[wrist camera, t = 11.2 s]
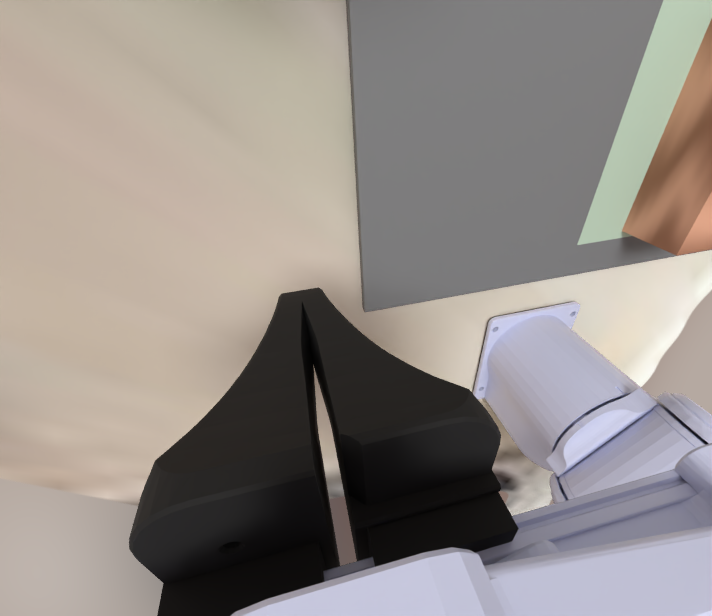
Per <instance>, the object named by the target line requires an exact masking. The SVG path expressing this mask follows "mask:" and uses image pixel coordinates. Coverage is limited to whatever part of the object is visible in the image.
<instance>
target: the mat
mask: <svg viewBox="0 0 712 616" xmlns="http://www.w3.org/2000/svg"><path fill="white" fill-rule="evenodd" d="M346 4H347V22H348V41H349V59H350V78H351V96H352V115H353V134H354V152H355V171H356V189H357V208H358V227H359V245H360V264H361V282H362V301H363V309H364V311H365V312H369V311H375V310H381V309H386V308H392V307H397V306H403V305H408V304H414V303H419V302H425V301H430V300H436V299H441V298H447V297H452V296H458V295H464V294H469V293H475V292H480V291H486V290H491V289H497V288H502V287H508V286H513V285H519V284H524V283H530V282H535V281H541V280H546V279H552V278H558V277H563V276H569V275H574V274H580V273H585V272H591V271H596V270H602V269H607V268H613V267H618V266H624V265H629V264H635V263H640V262H646V261H652V260H657V259H663V258H668V257H674V256H676V255H674V254H672V253H669V252H667V251H665V250H663V249H661V248H658V247H656V246H654V245H652V244H650V243H647V242H645V241H643V240H641V239H638V238H636V237H634V236H632V235H630V234H627V233H625V232H623V231H622V229H623V227H624V224H625V222H626V220H627V217H628V215H629V212H630V210H631V208H632V205H633V203H634V201H635V198H636V196H637V194H638V191H639V189H640V186H641V184H642V182H643V179H644V177H645V175H646V172H647V170H648V168H649V165H650V163H651V160H652V158H653V156H654V153H655V151H656V149H657V146H658V144H659V142H660V139H661V137H662V134H663V132H664V130H665V127H666V125H667V123H668V120H669V118H670V116H671V113H672V111H673V108H674V106H675V104H676V101H677V99H678V97H679V94H680V92H681V90H682V87H683V85H684V82H685V80H686V78H687V75H688V73H689V71H690V68H691V66H692V64H693V61H694V59H695V56H696V54H697V52H698V49H699V47H700V45H701V42H702V40H703V38H704V35H705V33H706V30H707V28H708V26H709V23H710V21H711V19H712V0H346ZM710 250H712V249H710ZM705 251H707V250H705ZM699 252H701V251H699ZM694 253H696V252H694ZM688 254H690V253H688ZM683 255H685V254H683ZM677 256H679V255H677Z"/></svg>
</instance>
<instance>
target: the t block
mask: <svg viewBox="0 0 712 616" xmlns="http://www.w3.org/2000/svg"><path fill="white" fill-rule="evenodd" d="M622 231H623V232H625V233H627V234H630V235H632V236H634V237H636V238H638V239H641V240H643V241H645V242H647V243H650V244H652V245H654V246H656V247H658V248H661V249H663V250H665V251H667V252H669V253H672V254H674V255H676V256H677V255H683V254H688V253H694V252H699V251H705V250H710V249H712V19H711V21H710V23H709V26H708V28H707V30H706V33H705V35H704V38H703V40H702V42H701V45H700V47H699V49H698V52H697V54H696V56H695V59H694V61H693V64H692V66H691V68H690V71H689V73H688V75H687V78H686V80H685V82H684V85H683V87H682V90H681V92H680V94H679V97H678V99H677V101H676V104H675V106H674V108H673V111H672V113H671V116H670V118H669V120H668V123H667V125H666V127H665V130H664V132H663V134H662V137H661V139H660V142H659V144H658V146H657V149H656V151H655V153H654V156H653V158H652V160H651V163H650V165H649V168H648V170H647V172H646V175H645V177H644V179H643V182H642V184H641V186H640V189H639V191H638V194H637V196H636V198H635V201H634V203H633V205H632V208H631V210H630V212H629V215H628V217H627V220H626V222H625V224H624V227H623V229H622Z"/></svg>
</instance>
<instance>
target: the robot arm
mask: <svg viewBox="0 0 712 616" xmlns="http://www.w3.org/2000/svg"><path fill="white" fill-rule="evenodd" d="M579 309H580V304H578V303H577V302H570V303H565V304H560V305H555V306H549V307H544V308H539V309H534V310H529V311H524V312H518V313H513V314H508V315H503V316H498V317H494V318H492V319H491V320H490V321H489V323H488V327H487V332H486V336H485V341H484V345H483V350H482V355H481V359H480V364H479V368H478V373H477V378H476V382H475V387H474V391H473V394H472V392H471V391H470V390H469V389H467V388H464V387H461V386H459V385H456V384H453V383H450V382H448V381H445V380H442V379H439V378H437V377H434V376H432V375H430V374H428V373H425V372H423V371H421V370H419V369H417V368H415V367H413V366H411V365H409V364H407V363H405V362H403V361H402V360H400V359H398V358H396V357H394V356H393V355H391V354H389V353H388V352H386V351H385V350H383V349H382V348H380V347H379V346H378V345H376V344H375V343H373V342H372V341H371V340H369V339H368V338H367V337H366V336H364V335H363V334H362V333H361V332H360V331H359V330H357V329H356V328H355V327H354V326H353V325H352V324H351V323H350V322H349V321H348V320H347V319H346V318H345V317H344V316H343V315H342V314H341V313H340V312H339V311H338V310H337V309H336V308H335V307H334V305H333V304H332V303H331V302H330V301H329V299H328V298H327V297H326V295H325V294H324V292H323V290H321V289H320V288H313V289H307V290H301V291H295V292H289V293H283V294H281V295H280V296H279V299H278V303H277V306H276V309H275V312H274V315H273V317H272V320H271V322H270V324H269V326H268V329H267V331H266V333H265V335H264V337H263V339H262V341H261V342H260V344H259V346H258V348H257V350H256V352H255V353H254V355H253V357H252V358H251V360H250V361H249V363H248V364H247V366H246V367H245V369H244V370H243V372H242V373H241V375H240V376H239V377H238V379H237V380H236V381H235V382H234V384H233V385H232V386H231V388H230V389H229V390H228V391H227V393H226V394H225V395H224V396H223V397H222V398H221V400H220V401H219V402H218V403H217V404H216V405H215V406H214V407H213V408H212V409H211V410H210V411H209V412H208V414H207V415H206V416H205V417H204V418H203V419H202V420H201V421H200V422H199V423H198V424H197V425H196V426H194V427H193V428H192V429H191V430H190V431H189V432H188V433H187V434H186V435H185V436H183V437H182V438H181V439H180V440H179V441H178V442H177V443H175V444H174V445H173V446H172V447H171V448H170V449H168V450H167V451H166V452H165V453H164V454H163V455H161V456H160V457H159V458H158V459H157V460H155V462H154V465H153V467H152V470H151V473H150V475H149V477H148V479H147V482H146V484H145V487H144V490H143V492H142V495H141V499H140V502H139V506H138V509H137V513H136V517H135V520H134V524H133V527H132V531H131V534H130V538H129V548H130V550H131V552H132V553H133V555H134V556H135V558H136V559H137V560H138V561H139V562H141V564H143V565H144V566H145V567H146V568H147V569H148V570H150V571H151V572H152V573H153V574H154V575H155V576H156V577H157V578H158V579H160V580H161V581H162V582H163V583H164V584H163V589H162V594H161V600H160V605H159V610H158V615H157V616H712V415H711V414H710V413H708V412H707V411H706V410H704V409H703V408H702V407H700V406H699V405H698V404H696V403H695V402H694V401H692V400H691V399H689V398H688V397H686V396H685V395H683V394H675V393H673V394H671V393H668V392H663V393H662V394H660V395H659V396H658V397H657V398H658V399H657V398H655V397H654V396H652V395H650V394H648V393H647V392H646V391H644V390H643V389H642V388H641V387H640V386H639V385H637V384H636V383H635V382H634V381H633V380H631V379H630V378H629V377H628V376H627V375H625V374H624V373H623V372H622V371H621V370H619V369H618V368H617V367H616V366H615V365H614V364H612V363H611V362H610V361H609V360H608V359H606V358H605V357H604V356H603V355H602V354H600V353H599V352H598V351H597V350H596V349H595V348H593V347H592V346H591V345H590V344H589V343H587V342H586V341H585V340H584V339H583V338H581V337H580V336H579V335H578V334H577V333H575V332H574V331H573V330H572V326H573V324H574V321H575V319H576V316H577V314H578V311H579ZM493 328H494V329H493ZM313 364H314V368H315V371H316V375H317V378H318V382H319V385H320V388H321V392H322V395H323V398H324V402H325V405H326V409H327V412H328V415H329V419H330V423H331V427H332V432H333V437H334V442H335V447H336V453H337V458H338V463H339V468H340V474H341V479H342V484H343V489H344V495H345V499H346V505H347V510H348V515H349V521H350V526H351V532H352V537H353V542H354V547H355V553H356V558H357V561H356V562H353V563H349V564H346V565H343V566H340V562H339V556H338V550H337V544H336V538H335V532H334V526H333V520H332V515H331V508H330V502H329V496H328V490H327V484H326V478H325V471H324V465H323V459H322V453H321V447H320V441H319V434H318V426H317V414H316V398H315V383H314V368H313ZM482 398H485V399H486V401H487V402H488V404H489V405H490V407H491V408H492V410H493V411H494V413H495V414H496V416H497V417H498V418H499V420H500V421H501V423H502V424H503V426H504V427H505V429H506V430H507V432H508V433H509V435H510V436H511V438H512V439H513V441H514V442H515V444H516V445H517V447H518V448H519V449H520V450H521V452H522V453H523V454H524V455H525V456H526V457H527V458H528V459H530V460H531V461H532V462H534V463H535V464H537V465H539V466H540V467H542V468H544V469H547V470H549V471H553V472H555V473H553V474H552V475H551V477H550V488H551V494H552V499H553V501H554V504H552V505H549V506H545V507H542V508H538V509H535V510H531V511H528V512H525V513H521V514H518V515H514V516H511V514H510V512H509V510H508V509H507V507H506V505H505V503H504V501H503V500H502V498H501V496H500V494H499V491H500V489H501V487H500V483H499V482H498V480H497V478H496V476H495V475H494V473H493V471H492V466H493V463H494V460H495V457H496V454H497V451H498V448H499V445H500V438H501V434H500V432H499V429H498V427H497V425H496V424H495V422H494V421H493V419H492V417H491V416H490V414H489V413H488V412H487V410H486V409H485V408H484V407H483V405H482V404H481V403H480V402H479V401H478V399H482Z"/></svg>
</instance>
